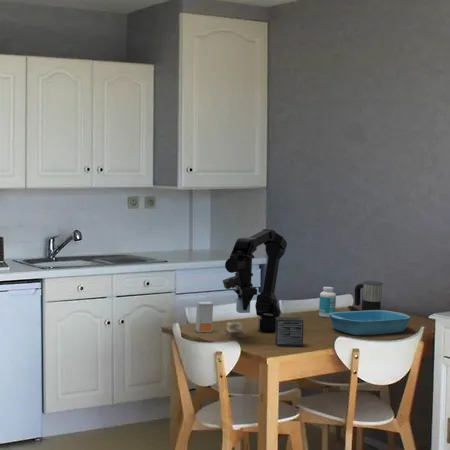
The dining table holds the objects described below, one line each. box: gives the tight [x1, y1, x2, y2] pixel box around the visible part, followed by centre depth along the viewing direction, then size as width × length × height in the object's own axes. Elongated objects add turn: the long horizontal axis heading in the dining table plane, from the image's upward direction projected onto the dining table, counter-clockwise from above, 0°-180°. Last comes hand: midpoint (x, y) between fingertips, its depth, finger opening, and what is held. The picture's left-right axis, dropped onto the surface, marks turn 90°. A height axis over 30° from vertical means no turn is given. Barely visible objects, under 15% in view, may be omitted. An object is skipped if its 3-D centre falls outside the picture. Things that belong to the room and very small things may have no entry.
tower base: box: [224, 329, 244, 340], centre depth 357 cm, size 6×6×3 cm
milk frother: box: [347, 280, 384, 311], centre depth 420 cm, size 14×16×15 cm
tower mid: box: [226, 321, 243, 332], centre depth 357 cm, size 5×5×3 cm
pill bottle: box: [318, 286, 337, 319], centre depth 409 cm, size 8×7×14 cm
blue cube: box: [235, 297, 251, 314], centre depth 354 cm, size 4×4×5 cm
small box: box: [274, 316, 305, 347], centre depth 347 cm, size 11×6×10 cm, turn 92°
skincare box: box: [195, 301, 214, 333], centre depth 367 cm, size 6×4×12 cm
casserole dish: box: [330, 309, 411, 336], centre depth 381 cm, size 37×22×7 cm, turn 119°
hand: (243, 309), depth 354 cm, fingers closed on blue cube, 4 cm apart
